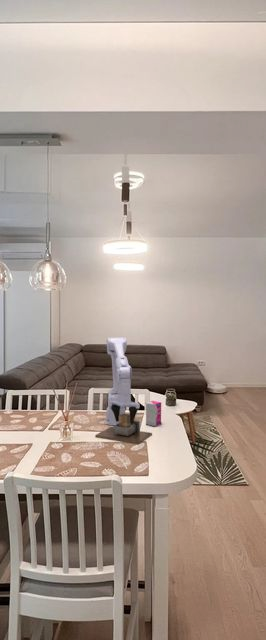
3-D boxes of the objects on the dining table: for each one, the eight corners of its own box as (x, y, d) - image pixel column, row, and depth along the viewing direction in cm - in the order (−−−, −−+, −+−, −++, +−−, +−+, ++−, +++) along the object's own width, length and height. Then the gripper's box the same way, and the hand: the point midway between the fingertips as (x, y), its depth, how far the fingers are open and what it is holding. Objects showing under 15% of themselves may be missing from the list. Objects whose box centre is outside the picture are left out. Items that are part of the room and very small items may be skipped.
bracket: (95, 437, 174) (95, 424, 174) (111, 428, 187) (110, 416, 187) (138, 444, 164) (138, 430, 164) (152, 435, 177) (151, 422, 177)
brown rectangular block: (118, 430, 176) (118, 415, 176) (123, 428, 179) (122, 413, 179) (126, 431, 174) (126, 416, 174) (130, 429, 177) (130, 414, 177)
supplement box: (155, 427, 189) (155, 404, 188) (145, 425, 192) (145, 402, 192) (161, 424, 193) (161, 401, 193) (152, 422, 197) (151, 400, 197)
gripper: (106, 393, 176) (106, 422, 176) (134, 395, 169) (134, 426, 169) (114, 390, 182) (114, 418, 182) (141, 392, 175) (141, 422, 176)
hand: (124, 422), depth 176 cm, fingers open, 7 cm apart
